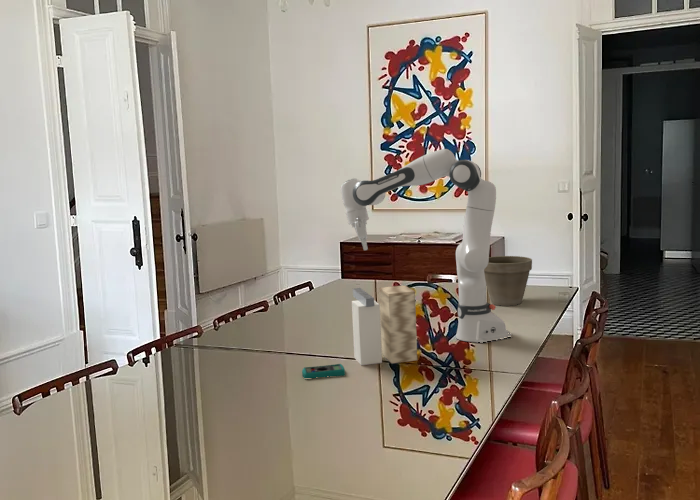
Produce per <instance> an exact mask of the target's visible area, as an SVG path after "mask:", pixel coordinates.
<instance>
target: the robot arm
mask: <svg viewBox="0 0 700 500" xmlns="http://www.w3.org/2000/svg"><path fill="white" fill-rule="evenodd" d="M445 177H448V178H450V181H451V183H452V184H453V185H454V186H456V187H457V188H459V189H462V190H463V191H465V192H467V196H468V197H467V202H466V208H465V215H464V219H463V224H462V240H461V243H459V244H458V245H457V247H456V250H455V262H456V274H457V283H458V284H457V285H458V303H457V316H458V321H457V322H458V323H457V329H456V334H455V338H456V339H457V340H459V341H463V342H470V343H478V342H480V343H479V344H484V343H483V342H486V343H488V342H487V341H491V340H496V339H500V338H504V337H508V336H511V335H512V336H513V334H512V332H510V331H509V330H507V327H506V323H505V321H504V320H503V319H502V318H501V317H500V316H498V315H497V314H495V313H494V312H492V311H494V310H495V309H496V305H494V304H492V303H489V302H487V300H488V299H487V286H486V281H485V274H484V269H485V268H486V267H487V265H488V262H489V257H490V248H491V235H492V233H491V232H492V225H493V221H494V215H495V209H496V204H497V203H496V200H497V188H496V185H495V184H494V183H493V182H491V181H489V180H485V179H482V171H481V168H480V167H479V165H478V164H476V162H474V161H472V160H469V159H461V160H460V159H459V160H458V159H457V158H456V157H455V155H454V153H453V152H452V150H449V149H448V148H443V149H439V150H438V149H437V150H434V151H432V152H429V153H427V154H424V155H422V156H420V157H418V158H416V159H414V160H412V161H410V163H408V164H406V165H404V166H402V167H401V168H399V169H398V170H395V171H393V172H392V173H391V172H390V173H389V174H387V175H384V176H381V177H379V178H377V179H372V180H360V179H357V178H351V179H348V180H346V181H344V182H343V183H342V184H341V186H340V194H341V200H342V204H343V206H344V208H345V215H346V220H347V223H348V225H351V226H352V227H351V228H353V229H354V230H355V233H356V236H357V238H358V241H360V242H361V245H362V249H363V251H368V250H369V248H368V242H367V239H368V232H367V225H368V222H367V221H368V220H369V219H370V217H369V213H368V211H367V206H376V205H377V206H378V205H379V204H381V203H382V202H383V201H384V200H385V197H386V193H388V192H390V191H391V192H392V191H393V190H396V189H398V188H401V187H409V186H410V187H411V186H412V187H414V186H415V187H417V186H423V185H427V184H430V183H432V182H434V181H437V180H438V179H442V178H445ZM508 333H509V334H508ZM510 333H511V334H510ZM496 341H497V340H496ZM491 342H492V341H491Z"/></svg>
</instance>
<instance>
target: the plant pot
mask: <svg viewBox="0 0 700 500" xmlns="http://www.w3.org/2000/svg"><path fill="white" fill-rule="evenodd" d="M532 267H533V259H532V258H531V257H526V256H520V255H518V256H517V255H497V256H489V262H488V265H487V267H486V268H485V269H484V274H485V281H486V291H487V293H488V296H489V300H490V304H493V305H495V306H499V305H501V307H511V306H510V305H514V306H518V305H517V304H519V305H521V304H522V302H523V299H524V296H525V292H526V288H527V285H528V280H529V276H530V273H531V272H530V271H531V270H532ZM520 303H521V304H520Z"/></svg>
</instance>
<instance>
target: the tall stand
mask: <svg viewBox="0 0 700 500" xmlns="http://www.w3.org/2000/svg"><path fill="white" fill-rule="evenodd" d="M378 289H379V304H380V326H381V350H382V357H384V358H385V359H387V361H388V362H389V363H390V364H397V363H405V362H413V361H418V340H417V337H418V335H417V316H416V315H417V314H416V291H415V290H413V289H412V288H410V287H408V286H407V285H394V286H383V287H379V288H378Z"/></svg>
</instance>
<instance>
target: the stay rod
mask: <svg viewBox="0 0 700 500" xmlns="http://www.w3.org/2000/svg"><path fill="white" fill-rule="evenodd" d="M352 297H353V298H355V300H358V301H360V302H361V303H362V304H363V305H364V306H366V307H372V306H374V301H375V298H374V297H373V296H372V295H371V294H369V293H368V292H367V291H365V290H364V289H362V288H361V287H357V288H356V287H353V288H352Z"/></svg>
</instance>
